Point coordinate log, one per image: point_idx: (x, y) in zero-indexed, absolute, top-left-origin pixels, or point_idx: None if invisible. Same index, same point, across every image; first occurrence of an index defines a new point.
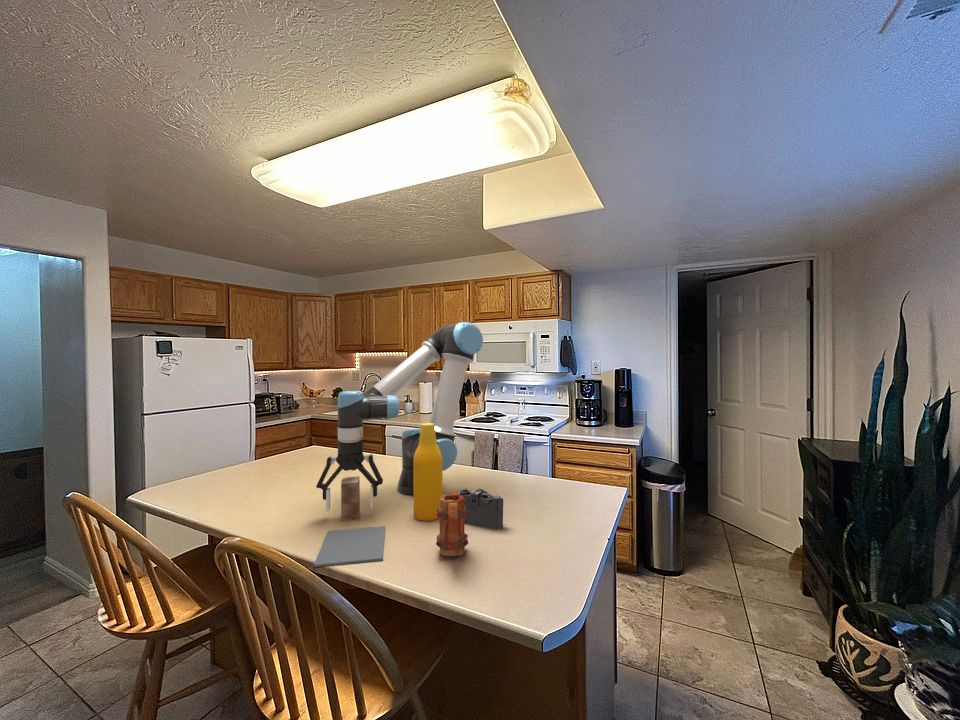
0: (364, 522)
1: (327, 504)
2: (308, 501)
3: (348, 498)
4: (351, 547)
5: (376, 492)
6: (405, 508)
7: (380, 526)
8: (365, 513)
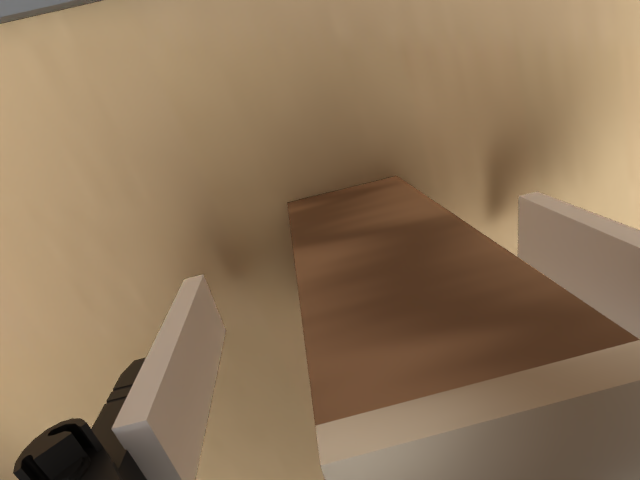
0: (219, 149)
1: (569, 209)
2: None
3: (398, 248)
4: None
5: (114, 395)
6: (39, 392)
7: (7, 12)
8: (274, 300)
